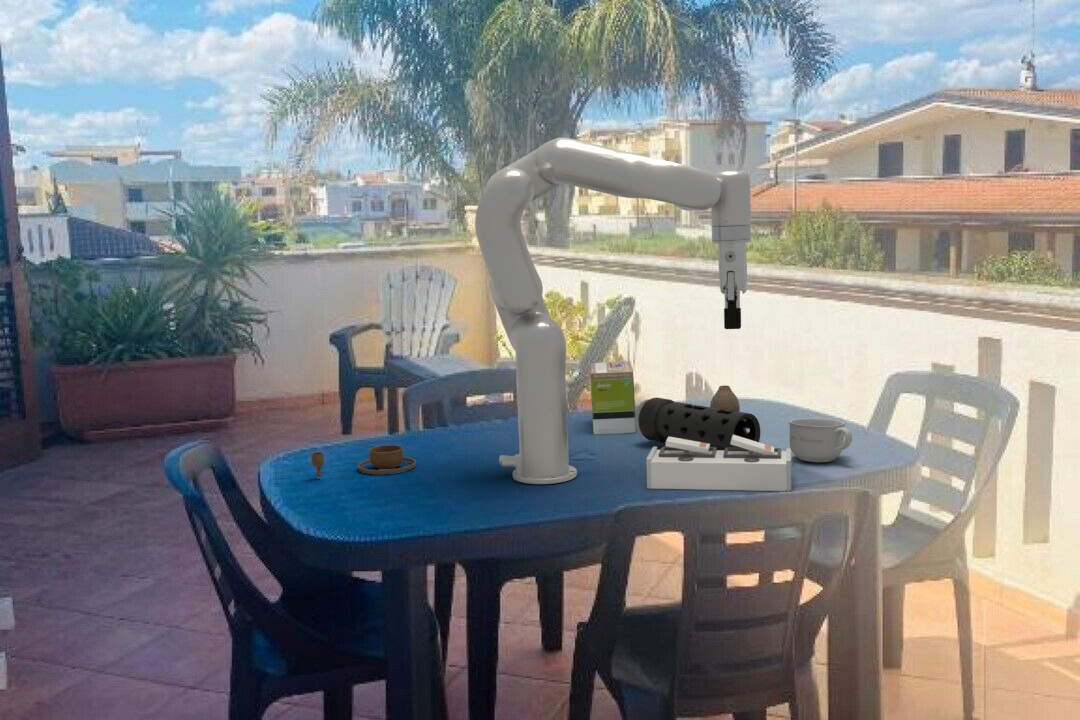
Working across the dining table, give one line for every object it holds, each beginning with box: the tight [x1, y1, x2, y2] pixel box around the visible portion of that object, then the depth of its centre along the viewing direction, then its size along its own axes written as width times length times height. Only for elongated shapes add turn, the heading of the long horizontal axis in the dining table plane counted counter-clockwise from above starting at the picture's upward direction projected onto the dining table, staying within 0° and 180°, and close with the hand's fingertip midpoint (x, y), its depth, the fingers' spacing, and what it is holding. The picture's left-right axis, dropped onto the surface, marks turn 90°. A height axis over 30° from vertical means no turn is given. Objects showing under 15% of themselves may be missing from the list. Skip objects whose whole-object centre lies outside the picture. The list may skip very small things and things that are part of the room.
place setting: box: [311, 444, 417, 478], centre depth 223 cm, size 18×20×6 cm
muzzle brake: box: [635, 397, 762, 451], centre depth 227 cm, size 10×28×10 cm, turn 39°
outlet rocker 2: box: [730, 435, 775, 455], centre depth 201 cm, size 8×4×2 cm, turn 77°
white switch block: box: [645, 446, 792, 492], centre depth 201 cm, size 26×10×6 cm, turn 77°
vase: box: [709, 385, 741, 412], centre depth 254 cm, size 7×7×9 cm
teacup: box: [788, 417, 853, 463], centre depth 214 cm, size 14×11×8 cm
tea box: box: [590, 360, 637, 435], centre depth 254 cm, size 15×10×15 cm, turn 178°
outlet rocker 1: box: [664, 436, 710, 454], centre depth 204 cm, size 8×4×2 cm, turn 77°
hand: (732, 328), depth 213 cm, fingers closed
